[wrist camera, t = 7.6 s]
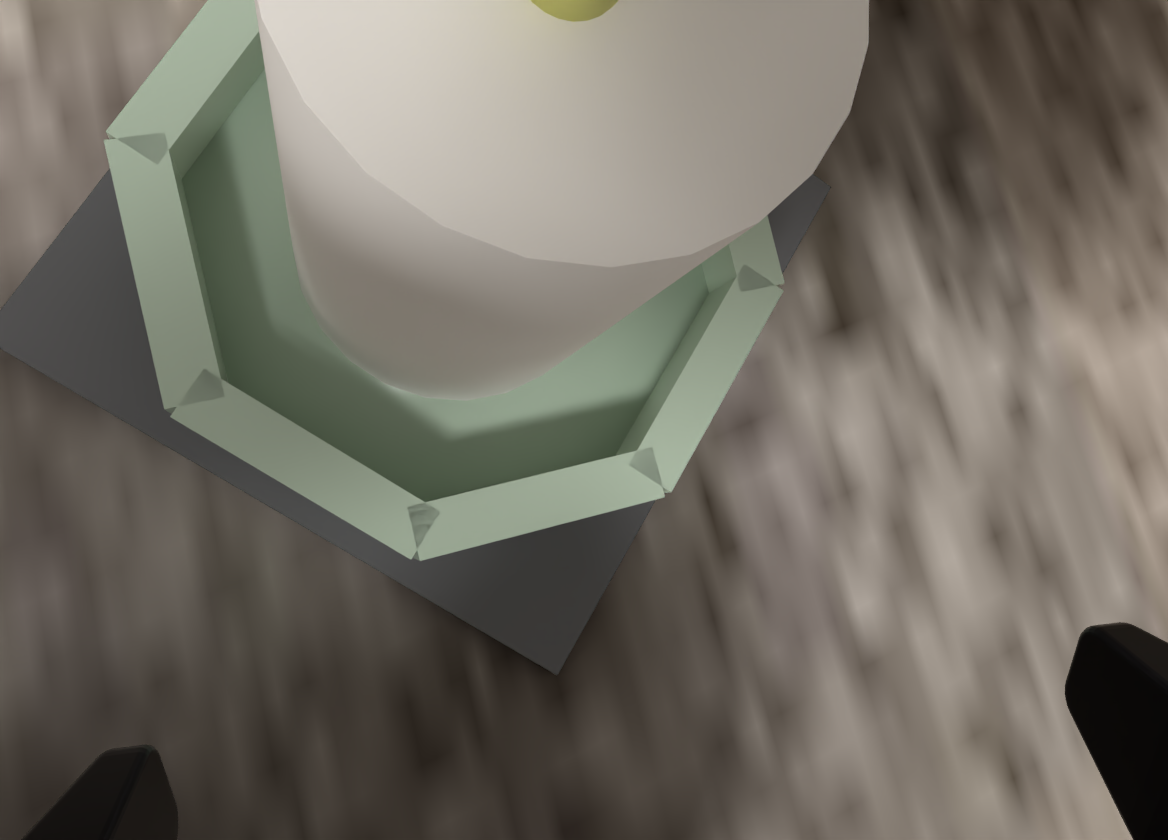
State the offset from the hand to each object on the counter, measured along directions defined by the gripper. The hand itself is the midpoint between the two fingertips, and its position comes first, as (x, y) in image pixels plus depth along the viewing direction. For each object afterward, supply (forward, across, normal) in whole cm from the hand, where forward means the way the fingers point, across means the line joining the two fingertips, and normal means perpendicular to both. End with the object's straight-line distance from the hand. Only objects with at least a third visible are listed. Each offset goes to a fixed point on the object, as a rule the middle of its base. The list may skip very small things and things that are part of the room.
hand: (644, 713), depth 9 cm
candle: (+13, +1, 0) cm, 13 cm away
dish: (+13, +1, 0) cm, 13 cm away
